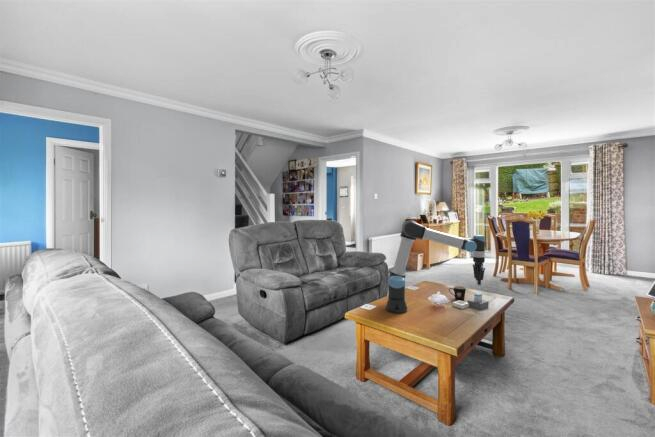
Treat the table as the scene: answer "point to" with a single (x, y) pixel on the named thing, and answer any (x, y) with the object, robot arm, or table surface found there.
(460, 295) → the coffee mug
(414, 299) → the table surface
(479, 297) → the plug
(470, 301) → the port block
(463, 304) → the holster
